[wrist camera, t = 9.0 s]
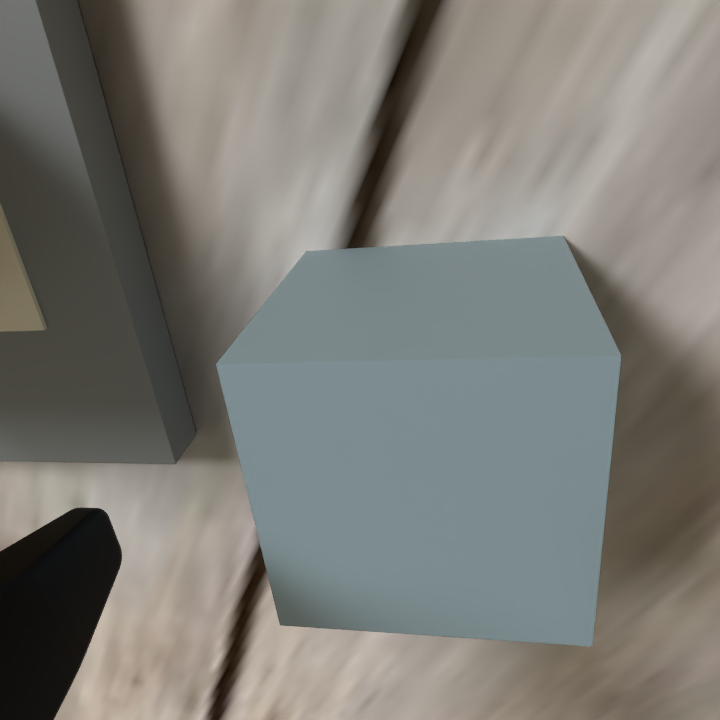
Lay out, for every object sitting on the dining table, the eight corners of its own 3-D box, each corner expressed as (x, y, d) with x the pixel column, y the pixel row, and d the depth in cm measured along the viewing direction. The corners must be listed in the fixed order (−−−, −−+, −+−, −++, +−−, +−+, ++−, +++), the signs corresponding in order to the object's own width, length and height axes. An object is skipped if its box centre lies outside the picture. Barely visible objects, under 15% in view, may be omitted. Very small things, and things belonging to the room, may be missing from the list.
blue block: (562, 234, 11) (621, 355, 7) (553, 451, 13) (592, 647, 9) (307, 250, 12) (215, 364, 8) (337, 449, 14) (280, 625, 10)
